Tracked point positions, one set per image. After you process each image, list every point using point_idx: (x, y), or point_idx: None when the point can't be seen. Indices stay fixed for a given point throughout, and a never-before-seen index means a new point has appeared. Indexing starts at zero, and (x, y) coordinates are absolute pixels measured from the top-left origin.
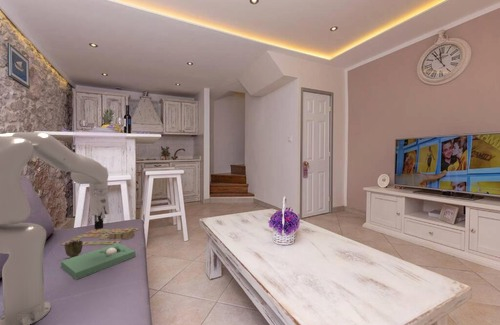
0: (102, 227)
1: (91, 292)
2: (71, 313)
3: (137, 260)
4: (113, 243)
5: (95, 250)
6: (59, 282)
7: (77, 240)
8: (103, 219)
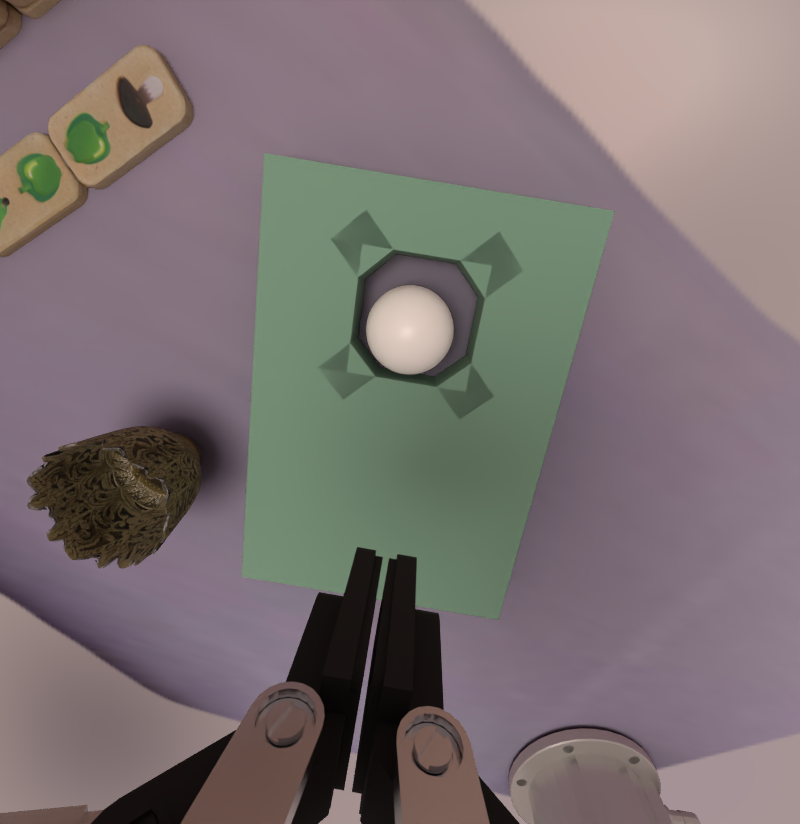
0: (414, 569)
1: (687, 621)
2: (737, 720)
3: (665, 263)
4: (155, 133)
5: (260, 378)
6: None
7: (43, 458)
8: (468, 746)
